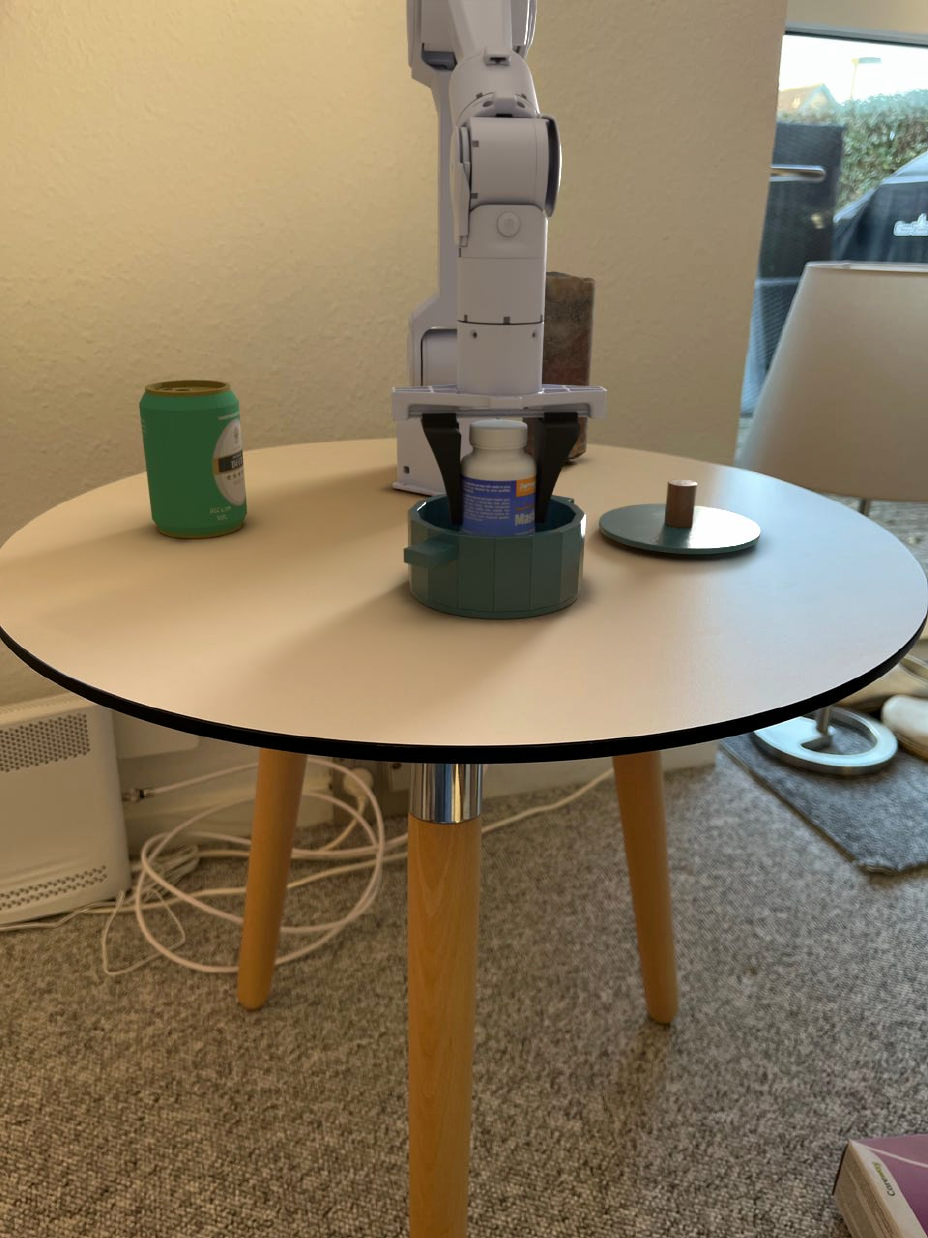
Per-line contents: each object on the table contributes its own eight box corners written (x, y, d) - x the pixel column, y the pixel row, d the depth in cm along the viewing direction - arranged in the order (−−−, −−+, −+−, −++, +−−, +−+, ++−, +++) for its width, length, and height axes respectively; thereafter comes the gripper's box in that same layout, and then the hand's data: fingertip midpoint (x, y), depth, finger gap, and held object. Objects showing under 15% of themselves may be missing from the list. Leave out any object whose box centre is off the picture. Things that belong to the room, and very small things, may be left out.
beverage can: (223, 543, 81) (210, 395, 76) (135, 535, 82) (117, 390, 78) (262, 517, 88) (253, 380, 84) (181, 511, 90) (167, 377, 85)
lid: (569, 540, 82) (572, 485, 81) (642, 507, 92) (646, 457, 91) (720, 572, 75) (727, 513, 73) (782, 532, 85) (789, 479, 83)
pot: (348, 603, 68) (345, 524, 66) (494, 542, 82) (496, 475, 79) (494, 646, 61) (496, 560, 59) (628, 572, 75) (633, 500, 73)
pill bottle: (528, 574, 68) (533, 433, 64) (451, 568, 69) (452, 429, 65) (538, 550, 73) (543, 418, 69) (467, 545, 74) (468, 415, 70)
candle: (550, 448, 116) (558, 269, 109) (600, 458, 111) (611, 271, 104) (507, 458, 111) (512, 270, 103) (557, 469, 106) (566, 273, 99)
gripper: (391, 326, 60) (395, 538, 65) (623, 326, 62) (609, 534, 67) (389, 316, 67) (392, 510, 72) (598, 316, 68) (587, 506, 73)
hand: (496, 520), depth 70 cm, fingers closed on pill bottle, 5 cm apart
